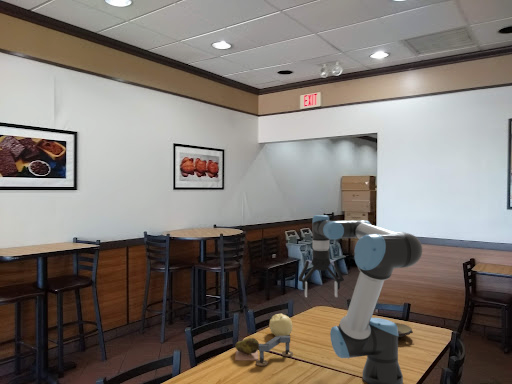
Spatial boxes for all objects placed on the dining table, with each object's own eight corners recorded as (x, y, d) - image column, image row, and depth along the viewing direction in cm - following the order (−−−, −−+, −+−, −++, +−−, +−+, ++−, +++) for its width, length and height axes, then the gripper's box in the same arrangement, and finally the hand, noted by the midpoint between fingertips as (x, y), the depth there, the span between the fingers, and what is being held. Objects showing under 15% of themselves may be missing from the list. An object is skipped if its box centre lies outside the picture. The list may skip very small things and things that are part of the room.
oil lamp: (387, 347, 196) (386, 331, 196) (349, 329, 224) (349, 314, 224) (423, 341, 205) (423, 325, 205) (382, 324, 232) (382, 310, 233)
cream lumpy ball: (269, 330, 221) (269, 310, 221) (292, 331, 220) (292, 311, 220) (268, 338, 209) (268, 316, 209) (292, 338, 208) (292, 317, 208)
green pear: (250, 348, 194) (250, 331, 194) (261, 357, 182) (261, 339, 182) (233, 350, 191) (233, 333, 191) (244, 361, 179) (244, 342, 179)
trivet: (258, 360, 181) (258, 358, 181) (235, 360, 181) (235, 358, 181) (257, 351, 191) (257, 350, 191) (236, 351, 191) (236, 350, 191)
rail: (295, 354, 187) (295, 336, 187) (262, 367, 173) (262, 348, 173) (284, 350, 192) (284, 333, 192) (251, 362, 178) (251, 343, 178)
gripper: (346, 248, 190) (346, 294, 190) (292, 248, 190) (292, 294, 190) (350, 250, 183) (350, 298, 182) (294, 250, 182) (294, 298, 182)
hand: (321, 296), depth 186 cm, fingers open, 13 cm apart
